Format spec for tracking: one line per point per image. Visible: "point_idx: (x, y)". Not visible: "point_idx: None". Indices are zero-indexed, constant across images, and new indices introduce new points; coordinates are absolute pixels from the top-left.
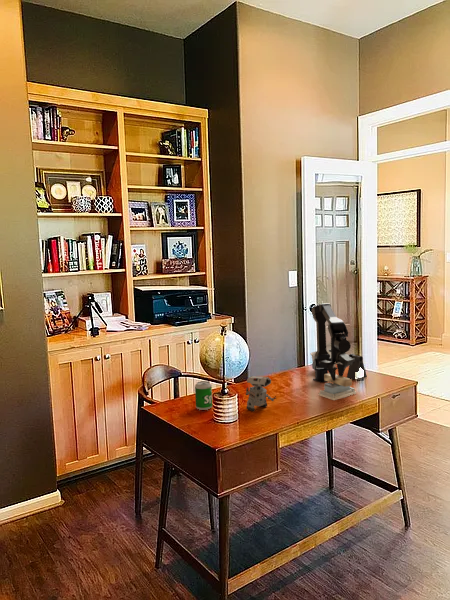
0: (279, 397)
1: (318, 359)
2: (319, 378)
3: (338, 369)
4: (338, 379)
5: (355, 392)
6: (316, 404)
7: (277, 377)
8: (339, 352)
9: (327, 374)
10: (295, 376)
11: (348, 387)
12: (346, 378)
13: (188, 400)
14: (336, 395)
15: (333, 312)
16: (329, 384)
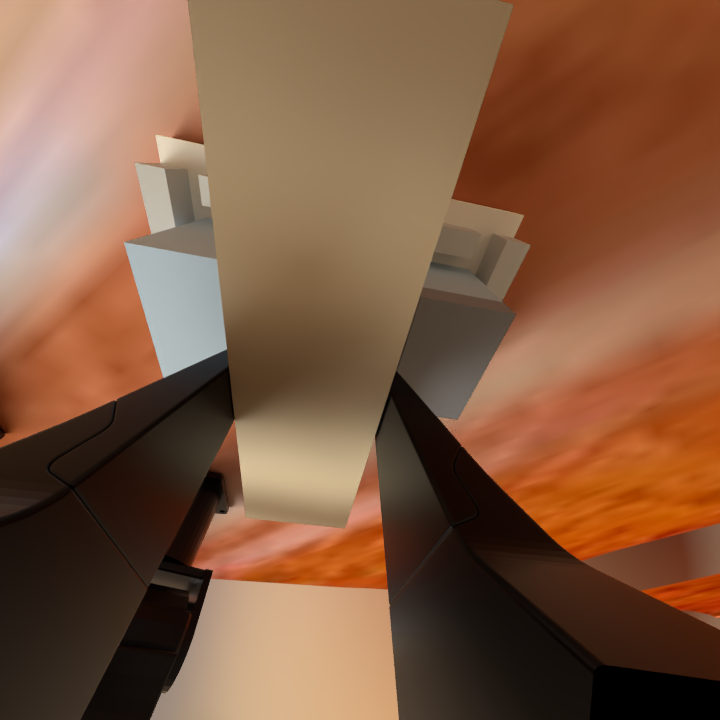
0: (574, 485)
1: (154, 696)
2: (209, 502)
3: (166, 529)
4: (406, 319)
5: (174, 138)
6: (681, 275)
7: (319, 573)
8: None
9: (327, 509)
10: (255, 554)
11: (208, 230)
12: (285, 168)
13: (690, 598)
14: (461, 228)
15: None
16: (464, 368)
